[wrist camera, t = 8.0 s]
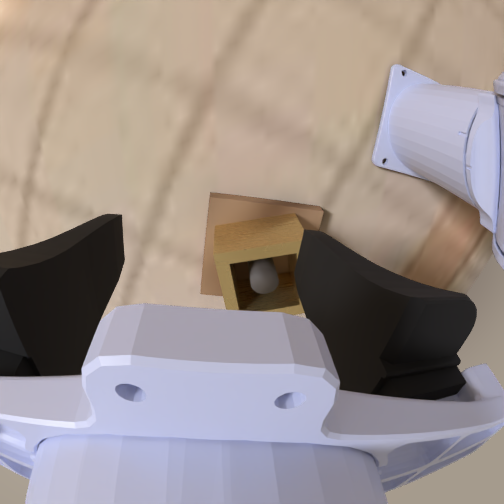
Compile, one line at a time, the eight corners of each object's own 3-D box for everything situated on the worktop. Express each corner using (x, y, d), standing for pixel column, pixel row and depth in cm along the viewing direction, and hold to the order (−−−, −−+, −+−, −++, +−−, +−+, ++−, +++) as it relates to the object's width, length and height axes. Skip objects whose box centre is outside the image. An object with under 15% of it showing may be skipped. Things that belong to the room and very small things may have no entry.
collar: (294, 213, 21) (308, 239, 18) (299, 278, 24) (311, 311, 20) (214, 225, 21) (213, 254, 18) (228, 290, 24) (230, 325, 20)
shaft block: (319, 206, 22) (340, 233, 18) (295, 294, 26) (307, 330, 22) (210, 192, 21) (207, 217, 17) (201, 286, 25) (198, 323, 21)
